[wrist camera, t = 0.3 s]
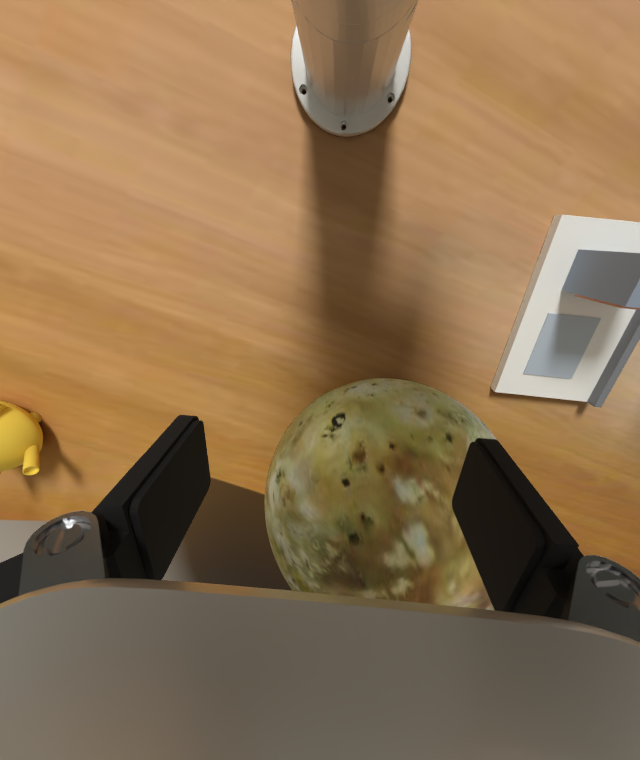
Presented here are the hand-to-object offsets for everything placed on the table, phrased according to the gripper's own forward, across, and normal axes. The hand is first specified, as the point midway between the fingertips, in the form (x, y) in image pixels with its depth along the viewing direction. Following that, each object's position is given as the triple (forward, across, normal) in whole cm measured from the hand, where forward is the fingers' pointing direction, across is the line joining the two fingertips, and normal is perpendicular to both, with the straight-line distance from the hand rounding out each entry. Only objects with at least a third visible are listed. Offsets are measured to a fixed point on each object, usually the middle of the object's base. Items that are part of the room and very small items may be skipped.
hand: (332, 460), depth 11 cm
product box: (+34, -33, -4) cm, 48 cm away
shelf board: (+36, -33, +1) cm, 49 cm away
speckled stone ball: (+36, -8, +22) cm, 43 cm away
